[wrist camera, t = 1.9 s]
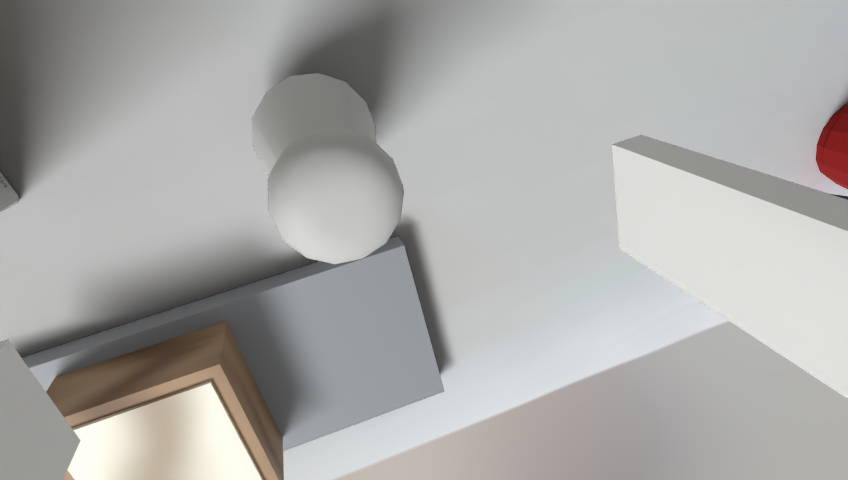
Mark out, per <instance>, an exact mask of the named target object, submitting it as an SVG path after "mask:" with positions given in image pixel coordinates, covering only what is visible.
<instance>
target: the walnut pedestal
mask: <svg viewBox="0 0 848 480" xmlns="http://www.w3.org/2000/svg"><path fill="white" fill-rule="evenodd" d="M46 393H47V394H48V396H49V397H50V398H51V400H52V401H53V403H54V404H55V405H56V407H57V408H58V410H59V411H60V412H61V414H62V415H63V417H64V418H65V419H66V421H67V422H68V424H69V425H70V426H71V428H72V429H73V431H74V432H75V433H76V435H77V436H78V438H79V439H80V440H81V441H80V443H79V445H78V447H77V450H76V452H75V454H74V456H73V459H72V461H71V463H70V465H69V468H68V470H67V472H66V474H65V477H64V479H63V480H284V476H283V437H282V435H281V433H280V431H279V429H278V427H277V425H276V423H275V421H274V419H273V417H272V414H271V412H270V410H269V408H268V406H267V404H266V402H265V400H264V398H263V396H262V394H261V392H260V389H259V387H258V385H257V383H256V381H255V379H254V377H253V375H252V373H251V371H250V369H249V367H248V364H247V362H246V360H245V358H244V356H243V354H242V352H241V350H240V348H239V346H238V344H237V342H236V339H235V337H234V335H233V333H232V331H231V329H230V327H229V325H228V323H227V321H224V322H221V323H218V324H215V325H212V326H209V327H206V328H203V329H200V330H197V331H194V332H191V333H188V334H185V335H182V336H179V337H176V338H173V339H170V340H167V341H164V342H161V343H158V344H155V345H152V346H148V347H145V348H142V349H139V350H136V351H133V352H130V353H127V354H124V355H121V356H118V357H115V358H112V359H109V360H106V361H103V362H100V363H97V364H94V365H91V366H88V367H85V368H82V369H79V370H76V371H73V372H70V373H67V374H64V375H61V376H58V377H55V378H54V380H53V381H52V383H51V385H50V386H49V388H48V390H47V391H46Z"/></svg>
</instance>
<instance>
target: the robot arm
mask: <svg viewBox="0 0 848 480" xmlns="http://www.w3.org/2000/svg"><path fill="white" fill-rule="evenodd" d="M612 151H613V165H614V179H615V193H616V207H617V221H618V235H619V249H621V250H622V251H624V252H625V253H627V254H628V255H630V256H631V257H633V258H635V259H636V260H638V261H639V262H641V263H642V264H644V265H645V266H647V267H648V268H650V269H651V270H653V271H654V272H656V273H657V274H659V275H660V276H662V277H663V278H665V279H666V280H668V281H669V282H671V283H673V284H674V285H676V286H677V287H679V288H680V289H682V290H683V291H685V292H686V293H688V294H689V295H691V296H692V297H694V298H695V299H697V300H698V301H700V302H701V303H703V304H704V305H706V306H708V307H709V308H711V309H712V310H714V311H715V312H717V313H718V314H720V315H721V316H723V317H724V318H726V319H727V320H729V321H730V322H732V323H733V324H735V325H737V326H738V327H739V328H741V329H743V330H744V331H746V332H747V333H749V334H750V335H752V336H753V337H755V338H756V339H758V340H759V341H761V342H762V343H764V344H765V345H767V346H768V347H770V348H771V349H773V350H774V351H776V352H778V353H779V354H781V355H782V356H784V357H785V358H787V359H788V360H790V361H791V362H793V363H794V364H796V365H797V366H799V367H800V368H802V369H803V370H805V371H806V372H808V373H809V374H811V375H812V376H814V377H816V378H817V379H819V380H820V381H822V382H823V383H825V384H826V385H828V386H829V387H831V388H832V389H834V390H835V391H837V392H838V393H840V394H841V395H843V396H844V397H846V398H847V399H848V197H847V196H840V195H833V194H828V193H825V192H821V191H818V190H815V189H812V188H809V187H806V186H802V185H799V184H796V183H793V182H790V181H786V180H783V179H780V178H777V177H774V176H771V175H767V174H764V173H761V172H758V171H755V170H751V169H748V168H745V167H742V166H739V165H736V164H732V163H729V162H726V161H723V160H720V159H716V158H713V157H710V156H707V155H704V154H701V153H697V152H694V151H691V150H688V149H685V148H681V147H678V146H675V145H672V144H669V143H666V142H662V141H659V140H656V139H653V138H650V137H646V136H643V135H640V136H636V137H633V138H630V139H627V140H624V141H621V142H618V143H615V144H612ZM80 441H81V440H80V439H79V438H78V436H77V435H76V433H75V432H74V431H73V429H72V428H71V426H70V425H69V424H68V422H67V421H66V419H65V418H64V417H63V415H62V414H61V412H60V411H59V410H58V408H57V407H56V405H55V404H54V403H53V401H52V400H51V398H50V397H49V396H48V394H47V393H46V391H45V390H44V389H43V387H42V386H41V384H40V383H39V382H38V380H37V379H36V378H35V376H34V375H33V373H32V372H31V371H30V369H29V368H28V366H27V365H26V364H25V362H24V361H23V359H22V358H21V357H20V355H19V354H18V352H17V351H16V350H15V348H14V347H13V345H12V344H11V343H10V341H9V340H8V339H7V340H4V341H1V342H0V480H63V479H64V477H65V474H66V472H67V470H68V468H69V465H70V463H71V461H72V459H73V456H74V454H75V452H76V450H77V447H78V445H79V443H80Z"/></svg>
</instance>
